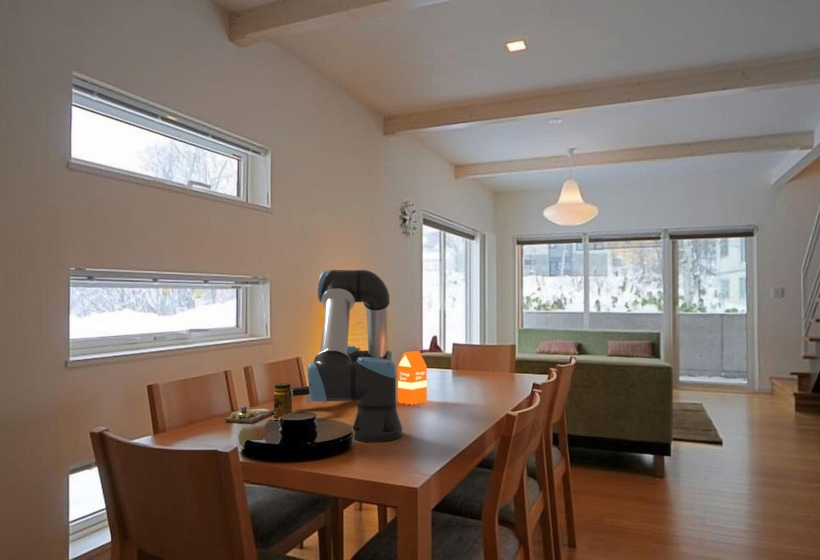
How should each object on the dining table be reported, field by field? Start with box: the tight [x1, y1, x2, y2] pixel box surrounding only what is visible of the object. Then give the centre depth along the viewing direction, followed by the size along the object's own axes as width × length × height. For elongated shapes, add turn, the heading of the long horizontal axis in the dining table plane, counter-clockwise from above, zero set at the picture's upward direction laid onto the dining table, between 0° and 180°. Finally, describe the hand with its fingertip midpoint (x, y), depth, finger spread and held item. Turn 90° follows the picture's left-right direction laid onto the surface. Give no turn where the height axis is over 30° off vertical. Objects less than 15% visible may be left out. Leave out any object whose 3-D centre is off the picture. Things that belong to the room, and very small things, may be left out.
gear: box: [230, 406, 257, 419], centre depth 188 cm, size 9×9×3 cm
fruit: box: [238, 420, 268, 449], centre depth 152 cm, size 8×7×8 cm
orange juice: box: [397, 350, 428, 406], centre depth 216 cm, size 8×9×20 cm
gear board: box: [224, 408, 274, 424], centre depth 191 cm, size 16×10×1 cm, turn 167°
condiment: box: [273, 383, 293, 419], centre depth 190 cm, size 7×8×12 cm
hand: (293, 397), depth 194 cm, fingers open, 13 cm apart
